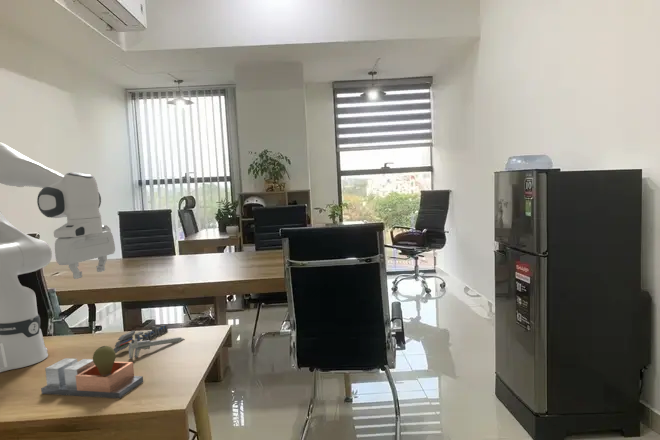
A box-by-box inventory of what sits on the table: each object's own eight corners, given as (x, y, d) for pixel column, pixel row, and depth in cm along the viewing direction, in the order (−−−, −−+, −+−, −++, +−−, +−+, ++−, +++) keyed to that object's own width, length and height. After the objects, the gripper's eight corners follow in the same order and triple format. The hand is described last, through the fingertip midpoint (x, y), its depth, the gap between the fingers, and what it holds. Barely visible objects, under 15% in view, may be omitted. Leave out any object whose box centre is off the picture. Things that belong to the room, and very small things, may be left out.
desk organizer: (41, 393, 125) (39, 370, 124) (69, 377, 135) (67, 356, 134) (119, 398, 120) (117, 374, 119) (143, 381, 129) (141, 359, 129)
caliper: (131, 360, 147) (129, 341, 146) (129, 359, 148) (127, 340, 147) (184, 340, 164) (183, 322, 163) (182, 339, 164) (181, 322, 164)
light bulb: (103, 388, 122) (99, 351, 121) (91, 384, 125) (87, 348, 124) (122, 380, 127) (119, 344, 126) (110, 376, 130) (106, 341, 129)
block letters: (116, 356, 151) (115, 339, 150) (112, 356, 151) (111, 339, 151) (167, 331, 174) (166, 316, 174) (164, 331, 175) (163, 316, 174)
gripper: (100, 224, 147) (104, 267, 148) (48, 232, 127) (53, 282, 128) (118, 224, 145) (122, 267, 146) (68, 231, 125) (73, 282, 126)
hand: (89, 274), depth 137 cm, fingers open, 8 cm apart
